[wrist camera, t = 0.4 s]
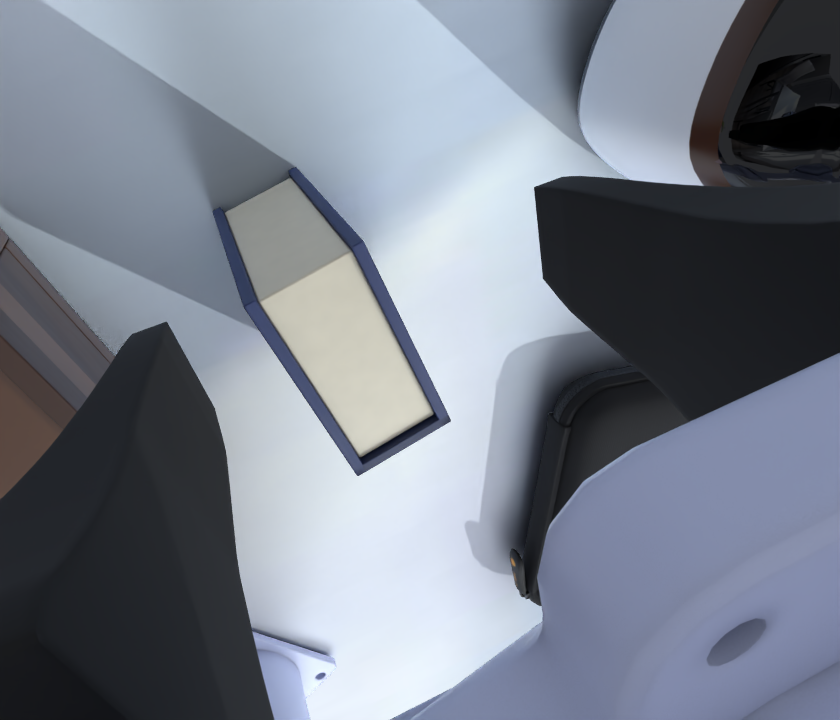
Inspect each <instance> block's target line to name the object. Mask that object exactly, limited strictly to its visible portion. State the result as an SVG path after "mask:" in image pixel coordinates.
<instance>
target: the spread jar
mask: <svg viewBox="0 0 840 720" xmlns="http://www.w3.org/2000/svg"><path fill="white" fill-rule="evenodd" d="M577 111H578V122H579V126H580V129H581V132H582V134H583V136H584V138H585V140H586V142H587V143H588V145H589V146H590V147H591V149H592V150H593V151H594V152H595V153H596V154H597V155H598V156H599V157H600V158H601V159H602V160H603V161H604V162H605V163H607V164H608V165H609V166H610V167H612V168H613V169H615V170H616V171H617V172H619V173H620V174H622V175H623V176H625V177H627V178H629V179H630V180H635V181H646V182H657V183H668V184H682V185H699V186H719V187H768V186H797V185H812V184H824V183H835V182H840V0H613V2H612V3H611V5H610V7H609V9H608V11H607V13H606V15H605V17H604V19H603V21H602V23H601V25H600V27H599V30H598V32H597V34H596V37H595V39H594V42H593V45H592V47H591V50H590V53H589V56H588V59H587V62H586V66H585V69H584V73H583V77H582V81H581V85H580V91H579V97H578V110H577Z"/></svg>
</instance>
